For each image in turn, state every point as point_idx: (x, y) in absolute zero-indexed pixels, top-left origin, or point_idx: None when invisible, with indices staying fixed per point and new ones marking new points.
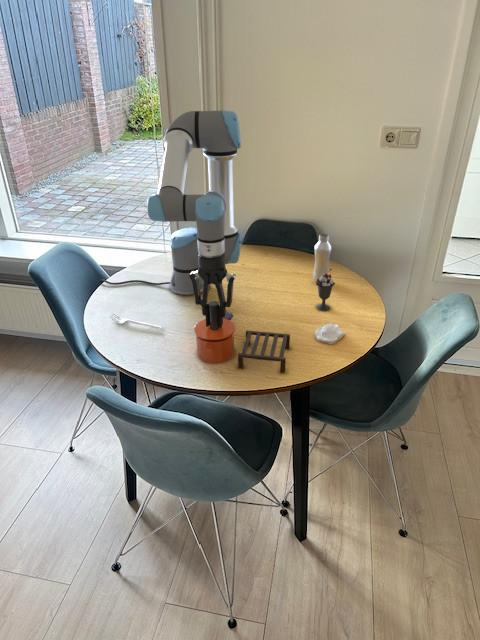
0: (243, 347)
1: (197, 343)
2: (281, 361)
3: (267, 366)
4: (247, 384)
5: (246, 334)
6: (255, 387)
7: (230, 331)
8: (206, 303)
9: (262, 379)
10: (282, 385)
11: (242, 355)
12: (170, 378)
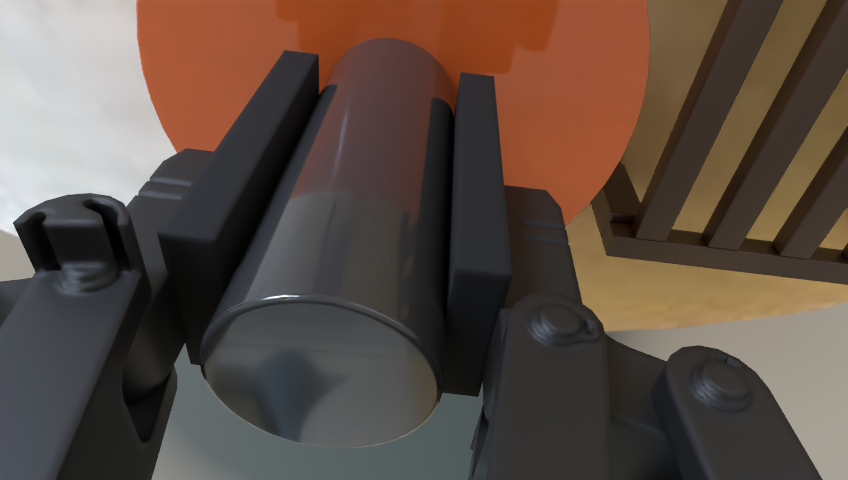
0: (668, 172)
1: None
2: None
3: (794, 159)
4: (622, 302)
5: None
6: (660, 320)
7: (580, 172)
8: (157, 324)
9: (716, 269)
10: (813, 307)
11: (640, 258)
12: None
